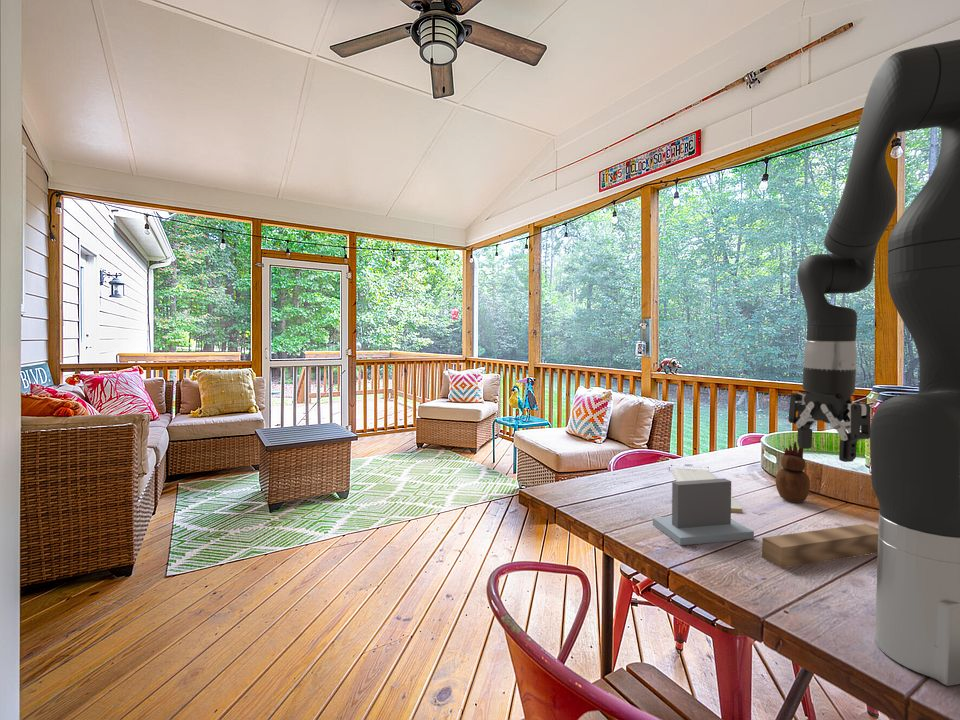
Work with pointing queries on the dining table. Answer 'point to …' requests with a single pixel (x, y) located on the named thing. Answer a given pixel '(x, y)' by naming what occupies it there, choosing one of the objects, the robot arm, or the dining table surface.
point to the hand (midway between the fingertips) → (824, 454)
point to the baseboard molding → (699, 475)
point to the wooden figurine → (793, 476)
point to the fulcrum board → (703, 532)
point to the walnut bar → (820, 545)
